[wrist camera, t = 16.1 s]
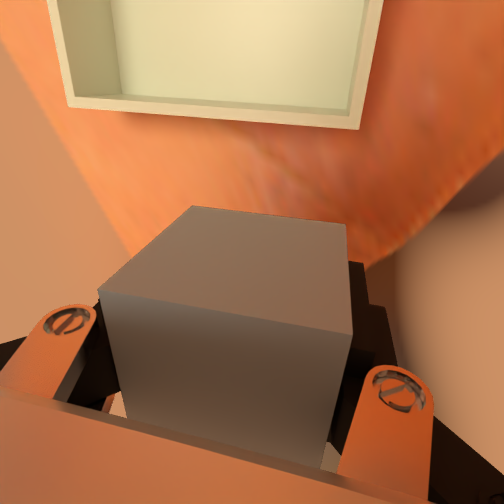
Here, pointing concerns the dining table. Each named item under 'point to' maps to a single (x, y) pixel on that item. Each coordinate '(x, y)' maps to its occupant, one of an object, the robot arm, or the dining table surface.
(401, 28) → the dining table surface
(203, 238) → the cube
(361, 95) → the tote
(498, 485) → the robot arm
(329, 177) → the dining table surface
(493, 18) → the dining table surface
